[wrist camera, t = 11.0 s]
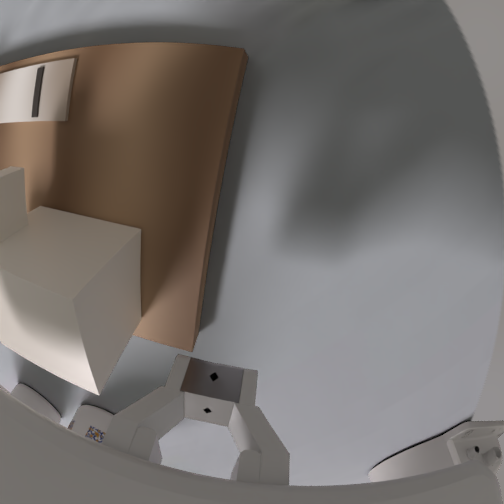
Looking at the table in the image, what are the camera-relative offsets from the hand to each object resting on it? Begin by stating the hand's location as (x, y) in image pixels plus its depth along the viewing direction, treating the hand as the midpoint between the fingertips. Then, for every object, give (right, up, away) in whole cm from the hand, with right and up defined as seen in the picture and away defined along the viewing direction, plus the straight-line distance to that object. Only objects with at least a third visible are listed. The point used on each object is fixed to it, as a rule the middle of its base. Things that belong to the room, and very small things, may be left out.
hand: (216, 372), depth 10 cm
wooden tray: (-13, +9, +2) cm, 16 cm away
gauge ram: (-7, +5, +2) cm, 9 cm away
